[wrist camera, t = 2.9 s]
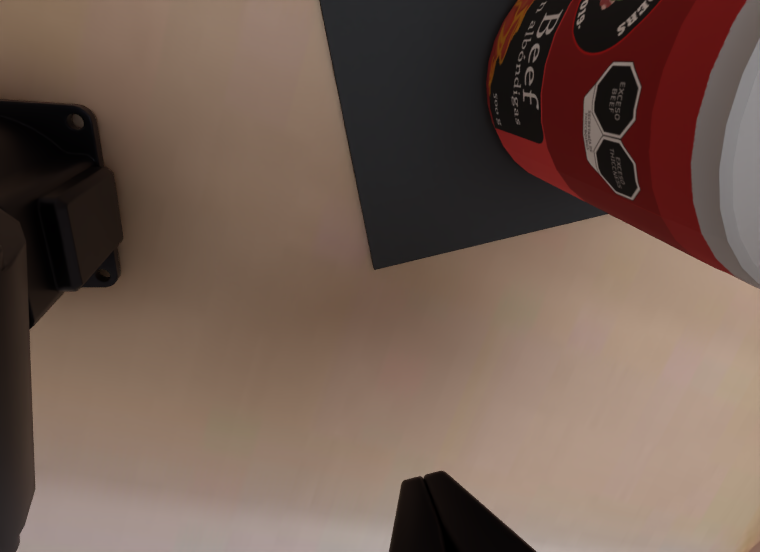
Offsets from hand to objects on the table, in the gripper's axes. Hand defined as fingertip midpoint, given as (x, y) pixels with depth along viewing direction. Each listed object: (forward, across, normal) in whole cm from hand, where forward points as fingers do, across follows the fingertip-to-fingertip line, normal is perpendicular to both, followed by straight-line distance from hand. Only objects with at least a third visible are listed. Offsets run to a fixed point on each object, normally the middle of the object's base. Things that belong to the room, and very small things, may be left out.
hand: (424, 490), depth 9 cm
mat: (+12, +7, +5) cm, 15 cm away
